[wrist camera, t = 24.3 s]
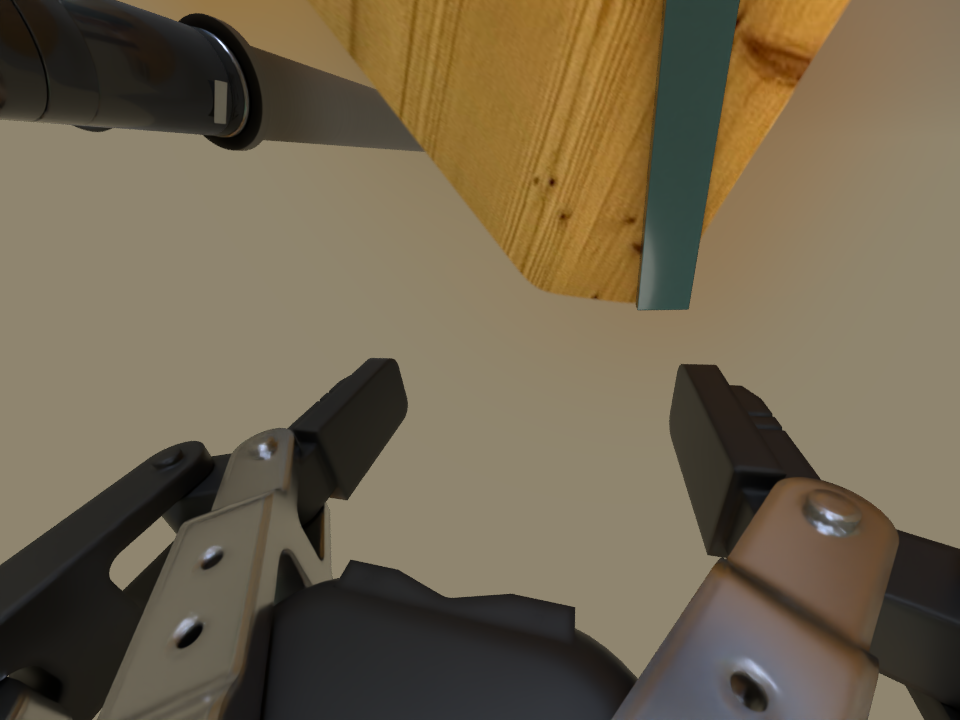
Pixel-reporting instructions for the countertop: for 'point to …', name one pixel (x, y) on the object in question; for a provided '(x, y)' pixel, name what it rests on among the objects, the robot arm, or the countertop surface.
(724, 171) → the countertop surface
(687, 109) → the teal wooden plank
